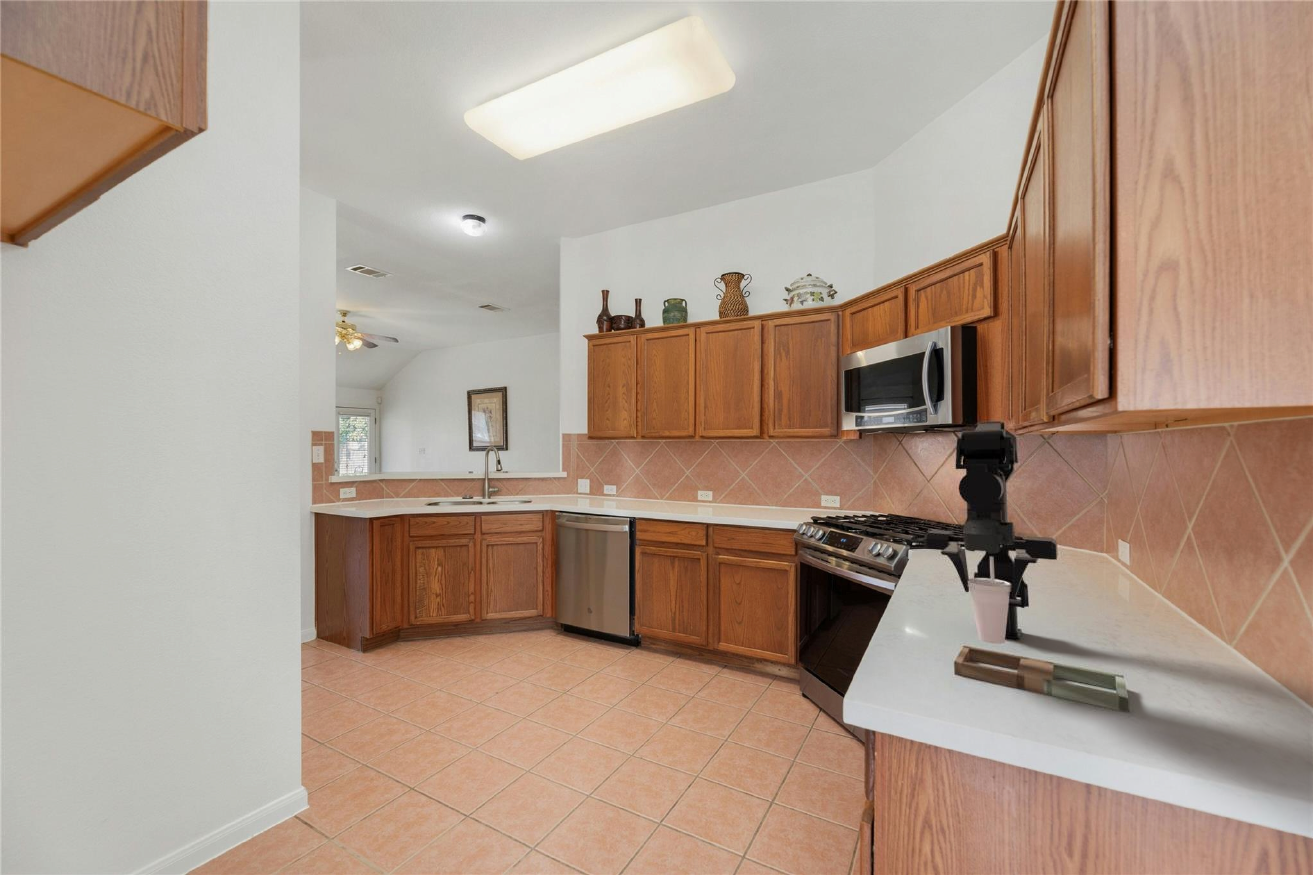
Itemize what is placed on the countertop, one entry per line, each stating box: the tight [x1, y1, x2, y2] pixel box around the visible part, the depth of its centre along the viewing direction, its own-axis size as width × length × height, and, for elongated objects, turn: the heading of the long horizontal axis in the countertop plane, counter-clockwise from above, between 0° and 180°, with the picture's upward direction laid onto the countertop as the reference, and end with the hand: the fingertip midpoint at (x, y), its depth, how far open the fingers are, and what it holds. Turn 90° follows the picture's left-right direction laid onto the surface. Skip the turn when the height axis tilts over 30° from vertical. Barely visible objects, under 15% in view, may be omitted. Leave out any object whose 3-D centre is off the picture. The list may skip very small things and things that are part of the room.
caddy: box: [953, 645, 1130, 713], centre depth 83 cm, size 10×22×2 cm, turn 51°
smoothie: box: [967, 556, 1012, 645], centre depth 87 cm, size 6×6×14 cm
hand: (989, 594), depth 87 cm, fingers closed on smoothie, 6 cm apart
